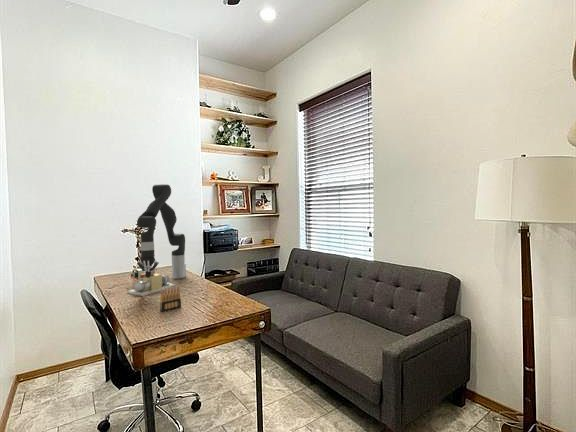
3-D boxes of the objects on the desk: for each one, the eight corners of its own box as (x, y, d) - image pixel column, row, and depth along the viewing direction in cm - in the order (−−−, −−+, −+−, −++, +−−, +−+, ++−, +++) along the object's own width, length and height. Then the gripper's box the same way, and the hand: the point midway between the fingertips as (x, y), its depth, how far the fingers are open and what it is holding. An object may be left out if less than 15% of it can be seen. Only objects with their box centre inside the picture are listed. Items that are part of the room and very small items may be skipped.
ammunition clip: (161, 312, 162) (161, 289, 162) (159, 311, 164) (159, 288, 163) (181, 307, 170) (180, 285, 170) (179, 307, 171) (179, 284, 171)
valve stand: (161, 284, 222) (161, 268, 221) (176, 286, 215) (175, 270, 215) (127, 293, 199) (126, 276, 198) (142, 296, 192) (142, 278, 192)
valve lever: (151, 272, 208) (150, 269, 208) (155, 272, 208) (155, 269, 208) (139, 277, 193) (139, 274, 192) (144, 277, 192) (144, 274, 192)
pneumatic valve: (153, 284, 222) (152, 266, 221) (135, 286, 214) (134, 269, 214) (150, 282, 226) (150, 265, 226) (132, 285, 218) (132, 267, 218)
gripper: (161, 248, 197) (161, 276, 198) (140, 248, 198) (141, 276, 198) (155, 249, 190) (156, 279, 190) (133, 250, 190) (134, 279, 191)
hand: (148, 277), depth 194 cm, fingers closed
